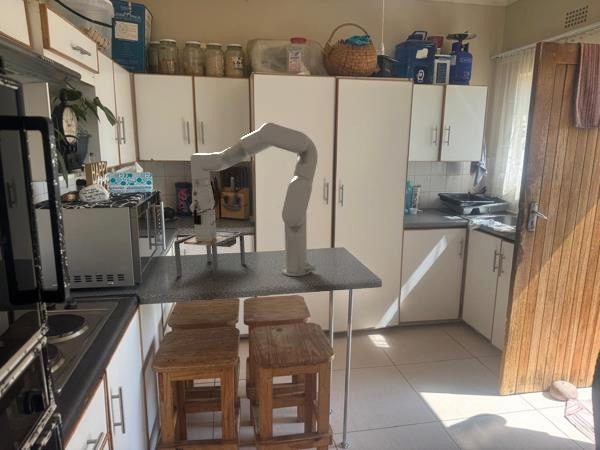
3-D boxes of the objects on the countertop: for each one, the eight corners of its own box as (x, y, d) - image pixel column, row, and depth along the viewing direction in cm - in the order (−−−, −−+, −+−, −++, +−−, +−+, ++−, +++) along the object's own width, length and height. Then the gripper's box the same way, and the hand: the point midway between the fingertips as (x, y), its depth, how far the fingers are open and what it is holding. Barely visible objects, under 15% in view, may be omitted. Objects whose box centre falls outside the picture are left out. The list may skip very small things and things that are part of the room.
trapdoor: (236, 243, 182) (235, 232, 181) (216, 255, 167) (215, 243, 166) (206, 241, 188) (205, 230, 186) (185, 252, 172) (183, 241, 171)
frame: (245, 264, 187) (243, 231, 184) (216, 280, 164) (214, 244, 161) (209, 260, 194) (206, 229, 191) (177, 276, 171) (173, 241, 168)
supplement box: (211, 241, 169) (209, 213, 166) (195, 241, 170) (192, 212, 166) (217, 236, 176) (215, 209, 173) (201, 236, 177) (199, 209, 173)
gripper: (196, 184, 158) (199, 226, 162) (219, 181, 174) (222, 219, 178) (181, 184, 161) (184, 225, 164) (205, 181, 177) (207, 218, 180)
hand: (204, 222), depth 171 cm, fingers open, 9 cm apart
